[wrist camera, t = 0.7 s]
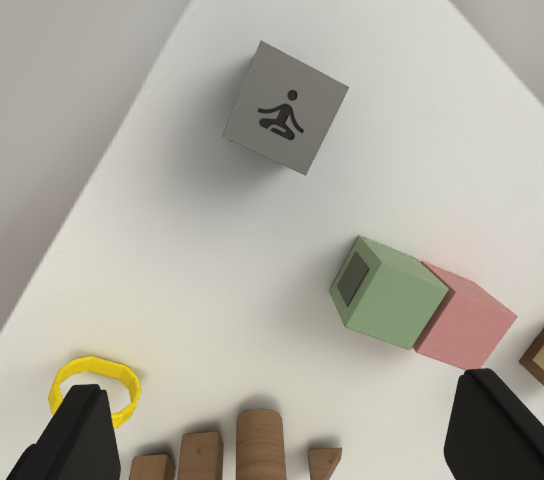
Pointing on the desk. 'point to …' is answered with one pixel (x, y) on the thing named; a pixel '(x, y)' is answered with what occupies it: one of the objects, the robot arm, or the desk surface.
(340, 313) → the green cube
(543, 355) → the brown cube
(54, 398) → the watch
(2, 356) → the desk surface
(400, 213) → the desk surface
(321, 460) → the wooden block set
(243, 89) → the dice cube
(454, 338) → the plain pink block
